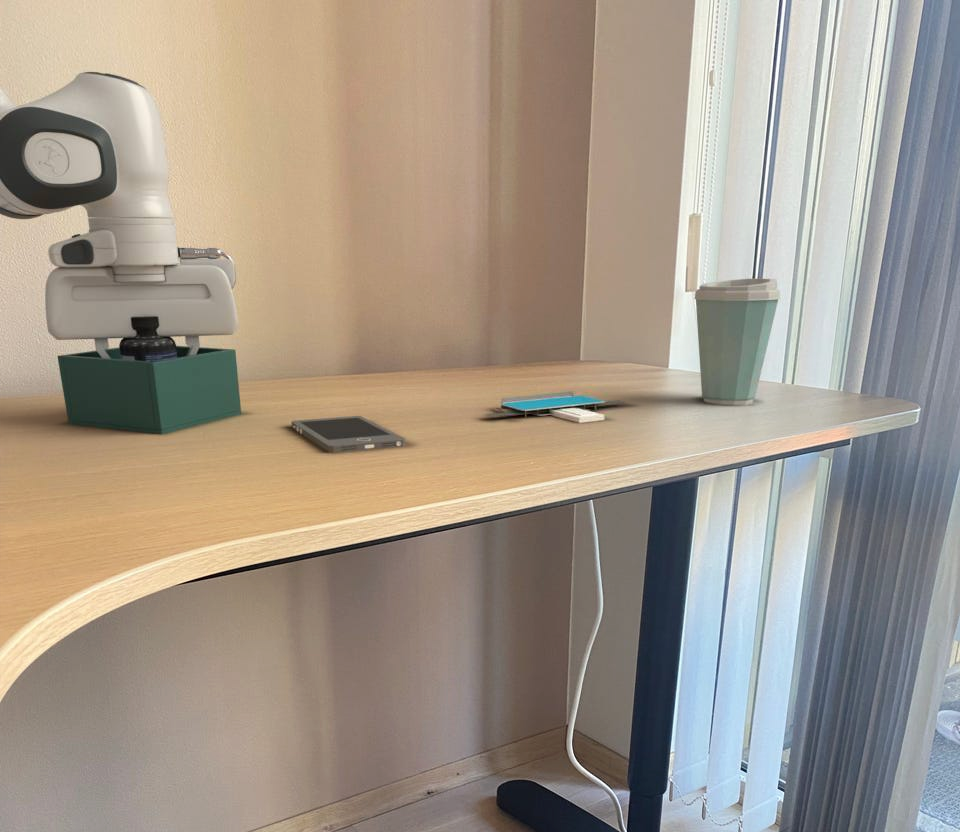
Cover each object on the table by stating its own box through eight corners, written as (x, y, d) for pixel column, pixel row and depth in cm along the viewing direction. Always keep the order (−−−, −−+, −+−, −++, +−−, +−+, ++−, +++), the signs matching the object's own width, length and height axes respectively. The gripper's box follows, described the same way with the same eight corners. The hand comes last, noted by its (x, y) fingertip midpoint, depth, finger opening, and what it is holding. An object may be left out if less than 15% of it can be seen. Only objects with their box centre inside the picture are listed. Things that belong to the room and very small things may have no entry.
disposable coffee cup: (724, 412, 117) (737, 281, 111) (667, 399, 126) (676, 278, 120) (786, 405, 122) (802, 279, 116) (727, 393, 131) (739, 276, 125)
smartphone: (289, 427, 107) (288, 420, 106) (359, 421, 110) (359, 415, 110) (329, 453, 94) (328, 446, 94) (406, 446, 97) (406, 439, 97)
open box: (68, 425, 108) (57, 355, 105) (153, 406, 119) (145, 343, 116) (162, 435, 103) (152, 362, 100) (241, 415, 114) (235, 349, 111)
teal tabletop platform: (519, 431, 106) (520, 416, 105) (464, 414, 115) (464, 400, 114) (657, 414, 115) (658, 400, 115) (596, 400, 125) (597, 387, 124)
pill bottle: (189, 410, 114) (178, 312, 109) (177, 419, 108) (165, 317, 104) (137, 410, 113) (123, 312, 109) (122, 420, 108) (107, 317, 103)
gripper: (230, 247, 110) (241, 371, 115) (36, 247, 103) (58, 378, 109) (236, 248, 104) (248, 378, 110) (32, 248, 98) (55, 386, 103)
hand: (152, 378), depth 109 cm, fingers closed on pill bottle, 6 cm apart
